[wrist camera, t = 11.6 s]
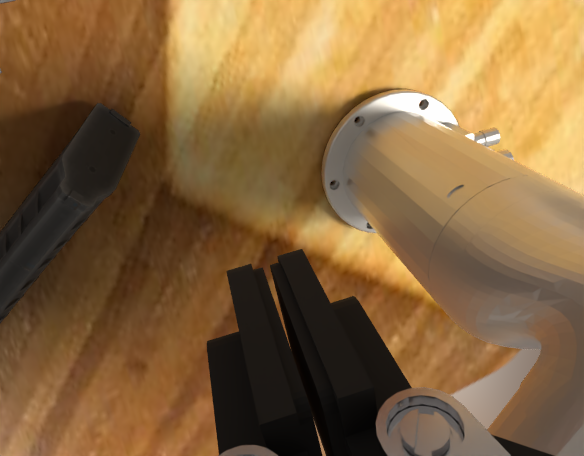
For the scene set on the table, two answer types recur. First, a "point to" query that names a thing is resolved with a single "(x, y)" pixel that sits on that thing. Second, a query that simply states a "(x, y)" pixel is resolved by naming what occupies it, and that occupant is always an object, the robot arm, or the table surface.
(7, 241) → the magazine
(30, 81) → the table surface
